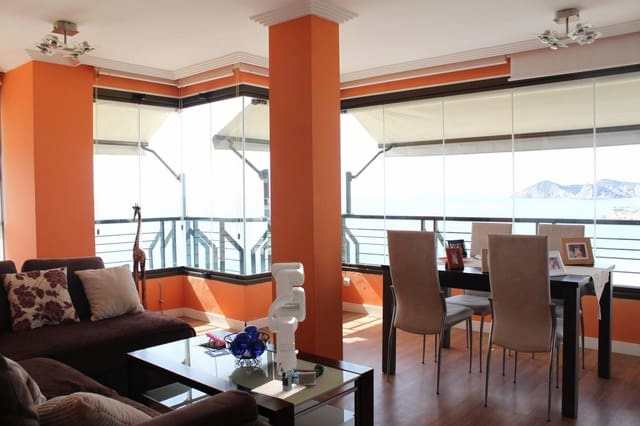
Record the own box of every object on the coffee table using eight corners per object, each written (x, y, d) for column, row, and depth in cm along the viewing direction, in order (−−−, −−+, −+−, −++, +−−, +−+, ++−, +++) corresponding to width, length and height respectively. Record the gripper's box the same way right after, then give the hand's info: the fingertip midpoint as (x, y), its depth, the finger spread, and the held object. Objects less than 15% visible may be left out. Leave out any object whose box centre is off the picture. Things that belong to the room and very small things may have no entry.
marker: (286, 388, 267) (286, 367, 266) (292, 389, 265) (291, 369, 264) (282, 390, 264) (282, 369, 264) (287, 391, 262) (287, 371, 262)
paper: (274, 380, 280) (274, 379, 280) (306, 387, 268) (306, 386, 268) (250, 391, 265) (250, 390, 265) (283, 399, 254) (283, 398, 254)
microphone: (310, 390, 273) (324, 373, 291) (312, 380, 272) (326, 364, 289) (300, 385, 275) (315, 369, 292) (303, 376, 274) (317, 360, 291)
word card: (297, 384, 272) (297, 372, 272) (315, 383, 273) (315, 372, 273) (297, 385, 271) (297, 373, 271) (315, 384, 272) (315, 372, 271)
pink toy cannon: (214, 340, 359) (214, 329, 359) (236, 345, 347) (236, 334, 347) (197, 346, 348) (197, 334, 347) (219, 351, 335) (218, 339, 335)
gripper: (291, 341, 273) (292, 378, 273) (269, 349, 259) (270, 388, 260) (303, 343, 268) (304, 381, 269) (282, 351, 255) (283, 391, 255)
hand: (287, 384), depth 264 cm, fingers closed on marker, 3 cm apart
